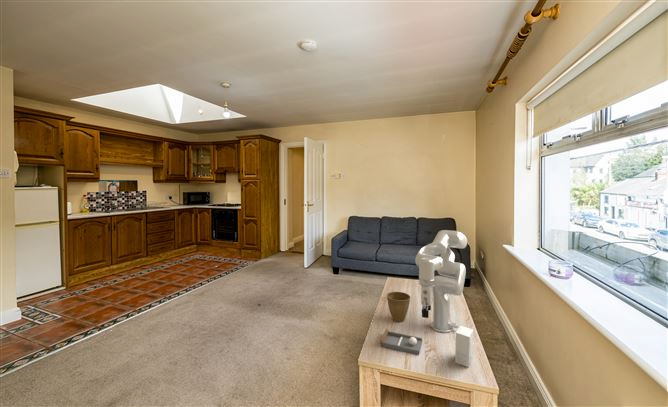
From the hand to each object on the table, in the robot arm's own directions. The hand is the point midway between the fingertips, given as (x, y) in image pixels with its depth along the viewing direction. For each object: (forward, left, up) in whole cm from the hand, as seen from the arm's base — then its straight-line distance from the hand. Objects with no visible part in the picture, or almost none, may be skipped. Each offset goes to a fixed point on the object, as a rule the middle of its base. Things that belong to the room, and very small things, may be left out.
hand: (426, 313), depth 143 cm
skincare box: (-18, +4, -19) cm, 27 cm away
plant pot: (+20, -26, -19) cm, 38 cm away
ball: (+7, +1, -16) cm, 18 cm away
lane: (+13, +1, -19) cm, 23 cm away
